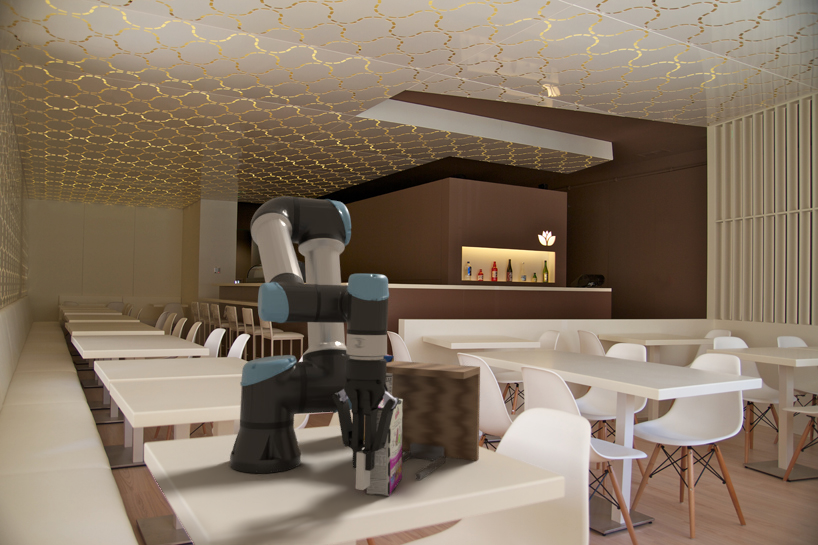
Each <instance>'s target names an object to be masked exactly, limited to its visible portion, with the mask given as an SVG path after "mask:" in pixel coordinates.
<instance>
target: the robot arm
mask: <svg viewBox="0 0 818 545" xmlns="http://www.w3.org/2000/svg"><path fill="white" fill-rule="evenodd" d="M251 218H252V219H251V221H250V228H249V229H250V234H251V235H250V236H251V238H252V240H253V242H254V243H255V244H256V245H257V246H258V252H259V257H260V262H261V266H262V272H263V276H264V277H263V278H264V283H261V284H260V286H259V289H258V297H257V312H258V313H257V314H258V317H259V319H260V320H261V321H264V322H272V323H273V322H274V323H277V324H284V323H307V337H308V344H307V345H308V348H307V349H306V350H305V352H303V354H302V361H298V359H297V358H296V356H295V355H291V354H286V355H285V354H284V355H272V356H265V357H260V358H255V359H253V360H249V361H247V362H245V364H244V365H243V367H242V371H241V380H240V387H241V389H240V392H241V393H240V407H239V408H240V411H239V412H240V413H239V429H238V432H237V435H236V437H235V441H234V443H233V445H232V446H233V447H232V450H231V452H230V455H229V456H230V457H229V467H230V468H231V469H233V470H235V471H238V472H243V473H250V474H252V473H253V474H268V473H279V472H284V471H287V470H290V469H291V470H292V469H293V468H297V467H298V466H299V465H300V464H301V458H302V457H301V455H302V454H301V453H302V452H301V449H300V446H299V442H298V438H297V434H296V432H295V427H294V425H295V424H294V422H295V415H301V414H302V415H303V414H316V413H317V414H319V413H321V414H322V413H333V414H335V413H337V415H338V421H339V426H340V432H341V439H342V444H343V446H344V447H347V448H350V449H351V451H352V463H351V464H352V468H353V469H354V470H355V489H356V490H360V491H364V490H366V488H367V487H369V486H370V471H371V470H372V469H374V465H375V451H378V450H380V449H382V448H384V447H385V443H386V439H387V435H388V431H389V427H390V423H391V419H392V415H393V411H394V409H395V407H396V406H397V404H398V403H399V399H398V398H397V397H393V396H392V395H390V394H389V393H388V389H387V386H386V383H385V381H386V366H387V361H386V359H384V358H383V357H384V356H386V355H388V319H389V315H388V314H389V297H390V292H389V279H388V277H387V276H386V275H384V274H380V273H353V274H350V275H349V277H348V281H347V284H346V285H345V284H342V278H341V266H340V264H341V262H340V255H341V254H343V252H344V251H345V247H346V246H348V245H349V243H350V240H351V236H352V230H351V229H352V222H351V215H350V212H349V210H348V208H347V206H346V205H345V204H344V203H343V202H341V201H337V200H331V199H329V198H325V199H320V198H318V199H317V198H311V197H310V198H306V197H297V196H288V195H283V196H278V197H274V198H271V199H269V200H268V201H265V202H264V203H263V204H262V205H261V206H260V207H259V208H258V209H257V210H256V211H255V212H254V214H253V216H252V217H251ZM293 244H298V246H297V247H298V253H300V254H301V255H302V256H304V261H305V262H304V264H305V267H304V268H305V282H304V279H303V274H302V272H301V268H300V265H299V261H298V257H297V254H296V251H295V248H294V245H293ZM344 323H346V340H345V325H344ZM345 341H346V342H345ZM383 398H384V401H383V405H384V407H383V409H382V413H381V417H380V421H379V425H378V429H377V413H378V405H379V404H380V403H381V401H382V400H383ZM351 413H352V414H351ZM364 418H365V437H364Z"/></svg>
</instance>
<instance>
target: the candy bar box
mask: <svg viewBox="0 0 818 545" xmlns="http://www.w3.org/2000/svg"><path fill="white" fill-rule="evenodd" d="M383 401H384V398H383V400H382V401H381V403H380V404H379V405H378V413H377V429H378V425H379V421H380V417H381V413H382V409H383V407H384V405H383ZM402 404H403V399H399V403H398V404H397V406H396V407H395V409H394V411H393V415H392V419H391V423H390V427H389V431H388V435H387V439H386V443H385V447H384V448H382V449H380V450H378V451H375V465H374V469H372V470H371V471H370V486H369V487H367V488H366V489H365V494H366V495H371V496H381V497H383V496H384V497H391V495H392V493H393V492H394V490H395V489H396V487H397V486H398V484H399V483H400V482H401V480H402V479H403V462H402V454H403V451H402V411H403V410H402V406H403V405H402Z"/></svg>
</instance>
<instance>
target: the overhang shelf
mask: <svg viewBox="0 0 818 545" xmlns="http://www.w3.org/2000/svg"><path fill="white" fill-rule="evenodd" d="M386 373H392V374H393V382H392V396H393V397H397V398H398V399H403V404H402V405H403V406H402V410H403V411H402V463H403V462H405V461H407V460H408V459H410V458H414V459H420V460H428V461H432V462H430V463H429V464H427V465H426V466H424V467H423V468H422V469H420V470H419V471H417V472H416V473H415V481H421V480H422V479H425V477H427V476H428V475H430V474H431V473H432V472H434V471H435V470H437V468H439V467H440V466H441V465H443V464H444V463H446V458H452V459H460V460H469V461H475V462H477V461H478V460H479V459H480V458H479V457H480V455H479V454H480V401H481V400H480V398H481V396H480V395H481V392H480V391H481V366H476V365H475V366H473V365H463V364H462V365H461V364H459V365H458V364H446V363H433V362H432V363H431V362H417V361H415V362H414V361H402V360H393V362H388V363H387V366H386Z"/></svg>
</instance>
